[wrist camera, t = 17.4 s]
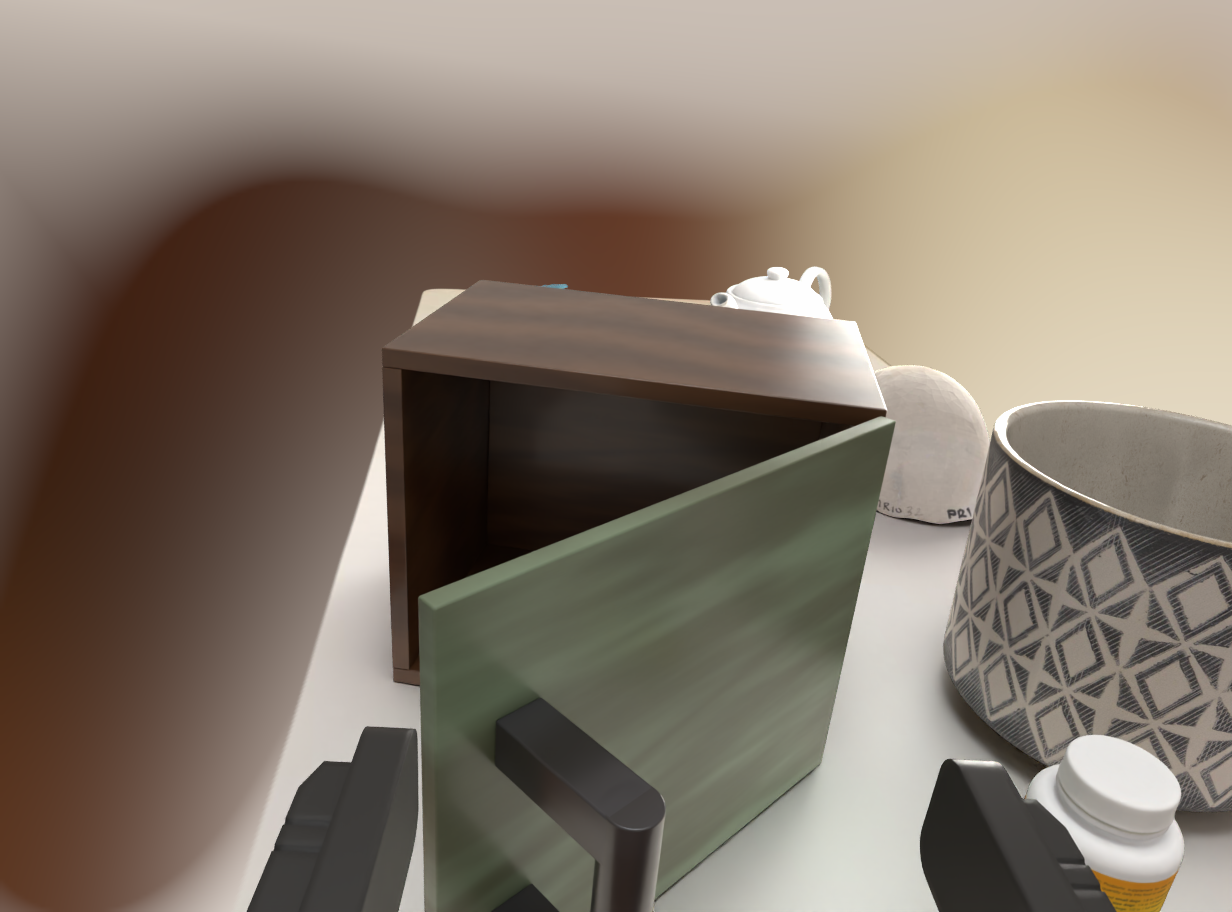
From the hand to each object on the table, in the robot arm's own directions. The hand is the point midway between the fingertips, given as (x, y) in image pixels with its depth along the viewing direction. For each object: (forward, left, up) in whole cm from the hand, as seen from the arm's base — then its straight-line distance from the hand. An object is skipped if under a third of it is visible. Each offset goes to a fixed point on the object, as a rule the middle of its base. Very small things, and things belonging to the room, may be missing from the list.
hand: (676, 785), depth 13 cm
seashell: (+11, +68, -23) cm, 73 cm away
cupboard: (-8, +36, -23) cm, 43 cm away
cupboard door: (+1, +16, -23) cm, 28 cm away
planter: (+21, +38, -23) cm, 49 cm away
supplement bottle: (+15, +20, -24) cm, 34 cm away
